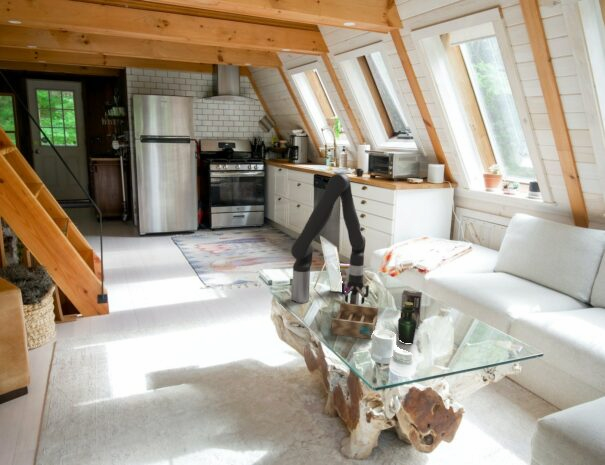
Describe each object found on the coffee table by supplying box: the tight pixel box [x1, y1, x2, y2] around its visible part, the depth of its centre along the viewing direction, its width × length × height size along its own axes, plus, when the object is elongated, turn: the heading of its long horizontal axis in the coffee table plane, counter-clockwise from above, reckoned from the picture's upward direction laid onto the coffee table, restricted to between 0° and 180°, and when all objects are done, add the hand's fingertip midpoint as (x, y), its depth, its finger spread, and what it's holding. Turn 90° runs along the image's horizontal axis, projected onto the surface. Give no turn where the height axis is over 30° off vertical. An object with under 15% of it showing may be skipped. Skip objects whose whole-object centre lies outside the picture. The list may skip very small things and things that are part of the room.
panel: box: [349, 291, 360, 305], centre depth 251 cm, size 3×12×10 cm, turn 166°
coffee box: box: [400, 290, 423, 329], centre depth 234 cm, size 9×6×16 cm
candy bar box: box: [338, 262, 350, 292], centre depth 278 cm, size 11×5×16 cm, turn 84°
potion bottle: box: [397, 302, 417, 344], centre depth 214 cm, size 8×8×18 cm
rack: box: [331, 302, 379, 340], centre depth 229 cm, size 19×23×7 cm
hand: (354, 303), depth 252 cm, fingers open, 7 cm apart
